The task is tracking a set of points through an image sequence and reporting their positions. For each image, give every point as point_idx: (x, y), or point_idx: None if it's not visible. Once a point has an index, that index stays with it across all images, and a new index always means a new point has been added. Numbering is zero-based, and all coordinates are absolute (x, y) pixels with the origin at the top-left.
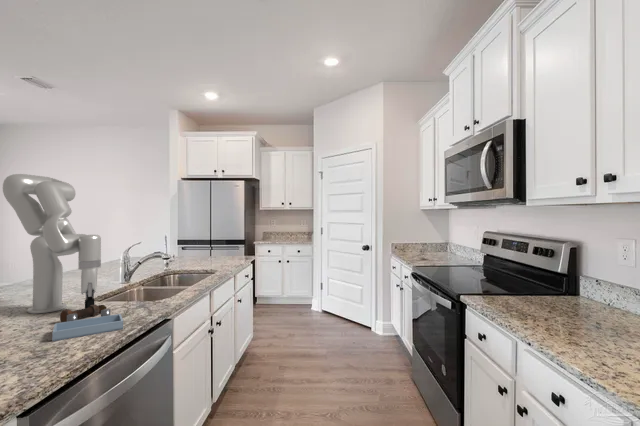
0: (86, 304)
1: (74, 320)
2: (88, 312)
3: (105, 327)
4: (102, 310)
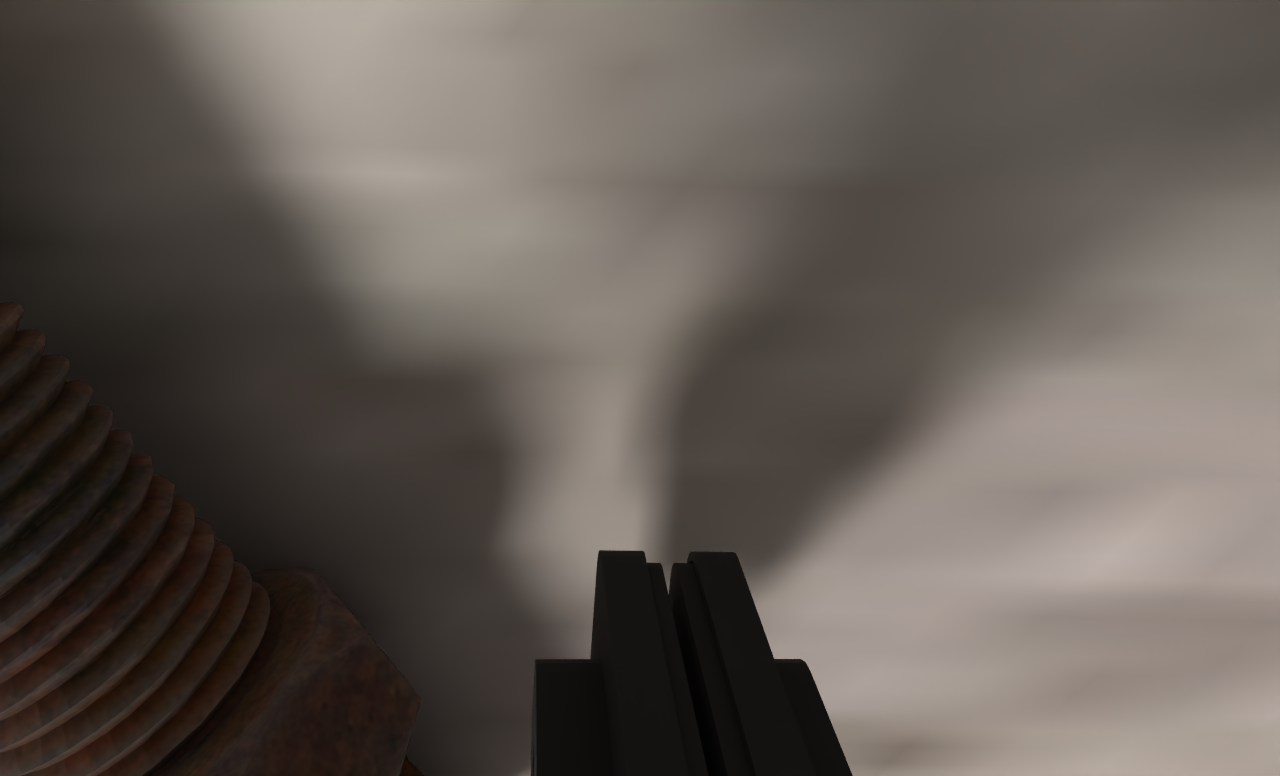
0: (604, 714)
1: None
2: None
3: None
4: None
